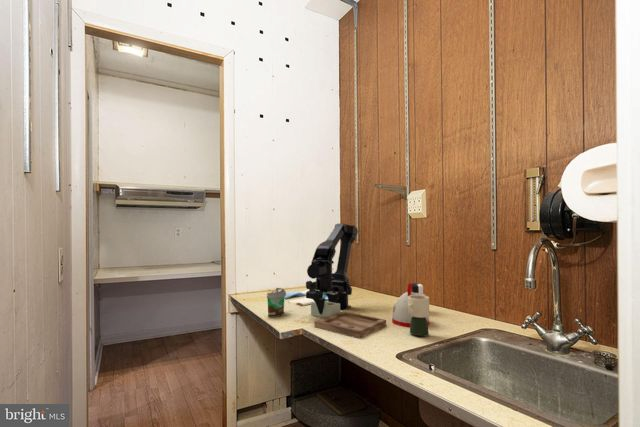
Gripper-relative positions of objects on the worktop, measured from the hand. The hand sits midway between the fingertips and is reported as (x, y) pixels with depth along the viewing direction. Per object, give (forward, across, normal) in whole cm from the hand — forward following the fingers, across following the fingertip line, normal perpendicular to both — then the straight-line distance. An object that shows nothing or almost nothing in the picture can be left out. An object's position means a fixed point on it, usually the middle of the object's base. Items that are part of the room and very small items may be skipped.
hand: (325, 312), depth 143 cm
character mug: (+1, -1, +41) cm, 41 cm away
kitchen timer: (+1, -13, +32) cm, 35 cm away
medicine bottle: (+1, -29, +27) cm, 40 cm away
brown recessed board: (+1, +6, +17) cm, 18 cm away
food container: (+1, +11, -17) cm, 20 cm away
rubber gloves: (+2, -23, -30) cm, 38 cm away
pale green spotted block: (+1, 0, 0) cm, 1 cm away
